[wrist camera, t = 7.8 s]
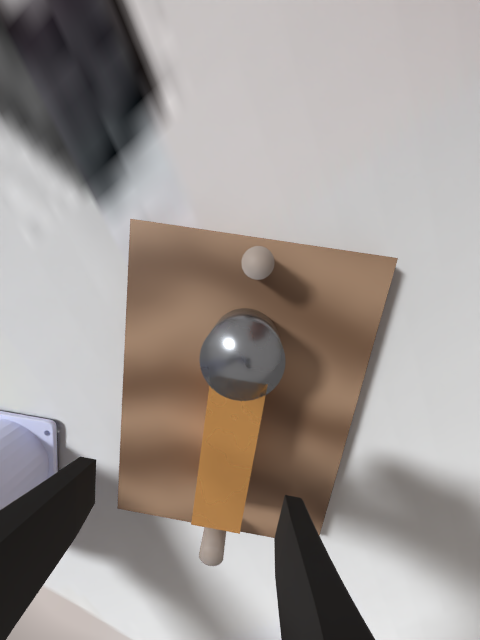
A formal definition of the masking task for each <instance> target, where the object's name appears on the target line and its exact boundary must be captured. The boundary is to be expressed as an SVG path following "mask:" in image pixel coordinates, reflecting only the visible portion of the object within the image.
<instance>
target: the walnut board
mask: <svg viewBox="0 0 480 640" xmlns="http://www.w3.org/2000/svg"><path fill="white" fill-rule="evenodd" d="M397 259H398V258H393V257H386V256H379V255H372V254H365V253H359V252H352V251H345V250H338V249H332V248H325V247H318V246H311V245H304V244H298V243H291V242H284V241H277V240H271V239H264V238H257V237H250V236H244V235H237V234H230V233H223V232H216V231H210V230H203V229H196V228H189V227H183V226H176V225H169V224H162V223H155V222H149V221H142V220H135V219H130V240H129V263H128V285H127V307H126V330H125V352H124V374H123V397H122V419H121V441H120V464H119V486H118V509H123V510H128V511H134V512H139V513H144V514H150V515H155V516H160V517H166V518H171V519H176V520H182V521H187V522H192V515H193V507H194V499H195V492H196V484H197V476H198V469H199V461H200V453H201V446H202V438H203V431H204V423H205V415H206V408H207V400H208V392H209V385H208V383H207V382H206V380H205V378H204V377H203V374H202V372H201V368H200V361H199V359H200V351H201V347H202V345H203V343H204V341H205V339H206V337H207V336H208V335H209V333H210V332H211V330H212V329H213V328H214V326H215V325H216V323H217V322H218V321H219V319H220V318H221V317H222V316H224V315H225V314H226V313H228V312H230V311H232V310H235V309H240V308H250V309H254V310H257V311H260V312H262V313H263V314H265V315H266V316H268V317H269V318H270V319H271V321H272V322H273V323H274V325H275V326H276V329H277V331H278V334H279V337H280V340H281V343H282V346H283V349H284V353H285V370H284V374H283V376H282V378H281V380H280V382H279V383H278V385H277V386H276V387H275V388H274V389H273V390H272V391H271V392H270V393H268V394H267V395H266V396H265V402H264V407H263V412H262V418H261V423H260V428H259V433H258V439H257V444H256V449H255V455H254V460H253V465H252V470H251V476H250V481H249V486H248V492H247V497H246V502H245V507H244V513H243V518H242V523H241V529H240V532H246V533H251V534H256V535H262V536H267V537H272V538H275V534H276V529H277V525H278V521H279V517H280V513H281V509H282V504H283V500H284V496H285V495H289V496H294V497H299V498H302V500H303V501H304V503H305V506H306V508H307V510H308V513H309V515H310V517H311V519H312V521H313V524H314V526H315V528H316V530H317V532H318V534H319V535H320V531H321V528H322V524H323V521H324V517H325V514H326V510H327V507H328V503H329V500H330V496H331V492H332V489H333V485H334V482H335V478H336V475H337V471H338V468H339V464H340V461H341V457H342V454H343V450H344V447H345V443H346V439H347V436H348V432H349V429H350V425H351V422H352V418H353V415H354V411H355V408H356V404H357V401H358V397H359V394H360V390H361V386H362V383H363V379H364V376H365V372H366V369H367V365H368V362H369V358H370V355H371V351H372V348H373V344H374V341H375V337H376V333H377V330H378V326H379V323H380V319H381V316H382V312H383V309H384V305H385V302H386V298H387V295H388V291H389V288H390V284H391V280H392V277H393V273H394V270H395V266H396V263H397ZM225 537H226V531H223V530H218V529H213V528H207V527H204V532H203V537H202V542H201V547H200V552H199V558H200V560H201V561H202V562H203V563H204V564H206V565H209V566H216V565H219V564H220V563H221V562H222V561H223V555H224V546H225Z"/></svg>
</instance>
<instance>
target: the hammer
mask: <svg viewBox="0 0 480 640" xmlns="http://www.w3.org/2000/svg"><path fill="white" fill-rule="evenodd" d="M199 361H200V368H201V372H202V374H203V377H204V378H205V380H206V382H207V383H208V385H209V392H208V400H207V408H206V415H205V423H204V431H203V438H202V446H201V453H200V461H199V469H198V476H197V484H196V492H195V499H194V507H193V515H192V522H191V525H197V526H202V527H207V528H213V529H218V530H223V531H229V532H234V533H239V534H240V529H241V523H242V518H243V513H244V507H245V502H246V497H247V492H248V486H249V481H250V476H251V470H252V465H253V460H254V455H255V449H256V444H257V439H258V433H259V428H260V423H261V418H262V412H263V407H264V402H265V396H266V395H267V394H268V393H270V392H271V391H272V390H273V389H274V388H275V387H276V386H277V385H278V383H279V382H280V380H281V378H282V376H283V374H284V370H285V353H284V349H283V346H282V343H281V340H280V337H279V334H278V331H277V329H276V326H275V325H274V323H273V322H272V321H271V319H270V318H269V317H268V316H266V315H265V314H263V313H262V312H260V311H257V310H254V309H250V308H240V309H235V310H232V311H230V312H228V313H226V314H225V315H224V316H222V317H221V318H220V319H219V321H218V322H217V323H216V325H215V326H214V328H213V329H212V330H211V332H210V333H209V335H208V336H207V337H206V339H205V341H204V343H203V345H202V347H201V351H200V359H199Z"/></svg>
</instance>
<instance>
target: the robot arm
mask: <svg viewBox="0 0 480 640" xmlns="http://www.w3.org/2000/svg"><path fill="white" fill-rule="evenodd" d="M95 476H96V460H95V459H90V458H84V457H79V458H78V459H76V460H75V461H73V462H72V463H70V464H69V465H67V466H66V467H64V468H63V469H61V470H60V471H58V465H57V426H56V423H55V422H54V421H53V420H49V419H44V418H38V417H32V416H27V415H21V414H15V413H10V412H4V411H0V640H6V639H7V637H8V636H9V634H10V633H11V631H12V629H13V628H14V626H15V625H16V623H17V622H18V621H19V619H20V618H21V616H22V615H23V613H24V612H25V610H26V609H27V607H28V606H29V605H30V603H31V602H32V600H33V599H34V597H35V596H36V594H37V593H38V591H39V590H40V589H41V587H42V586H43V584H44V583H45V581H46V580H47V578H48V577H49V576H50V574H51V573H52V571H53V570H54V568H55V567H56V565H57V564H58V562H59V561H60V559H61V558H62V557H63V555H64V554H65V552H66V551H67V549H68V548H69V546H70V545H71V543H72V542H73V540H74V539H75V537H76V536H77V534H78V532H79V530H80V529H81V527H82V525H83V523H84V522H85V520H86V518H87V516H88V514H89V513H90V511H91V509H92V507H93V505H94V504H95ZM275 578H276V588H277V598H278V609H279V618H280V628H281V638H282V640H375V639H374V637H373V635H372V633H371V632H370V630H369V628H368V627H367V625H366V623H365V621H364V620H363V618H362V616H361V614H360V613H359V611H358V609H357V607H356V606H355V604H354V602H353V600H352V598H351V597H350V595H349V593H348V591H347V589H346V587H345V586H344V584H343V582H342V580H341V578H340V576H339V574H338V572H337V570H336V568H335V566H334V564H333V563H332V561H331V559H330V557H329V555H328V553H327V551H326V549H325V547H324V545H323V543H322V541H321V538H320V536H319V534H318V532H317V530H316V528H315V526H314V524H313V521H312V519H311V517H310V515H309V513H308V510H307V508H306V506H305V503H304V501H303V500H302V498H299V497H294V496H289V495H285V496H284V500H283V504H282V509H281V513H280V517H279V521H278V525H277V529H276V534H275Z"/></svg>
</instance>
